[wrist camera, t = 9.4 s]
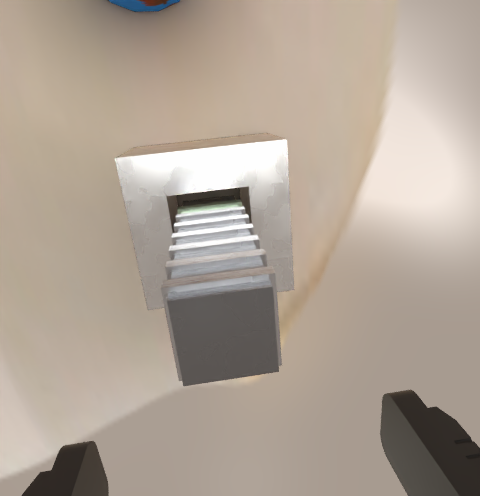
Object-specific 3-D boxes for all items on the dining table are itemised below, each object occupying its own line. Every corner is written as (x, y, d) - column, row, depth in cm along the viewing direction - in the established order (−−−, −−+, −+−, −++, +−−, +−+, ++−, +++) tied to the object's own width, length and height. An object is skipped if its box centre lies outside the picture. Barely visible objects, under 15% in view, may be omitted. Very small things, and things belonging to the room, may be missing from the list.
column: (242, 244, 30) (285, 375, 15) (188, 251, 30) (178, 392, 15) (236, 191, 28) (279, 280, 14) (179, 198, 28) (158, 296, 13)
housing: (275, 259, 37) (294, 296, 30) (159, 274, 37) (149, 316, 29) (266, 132, 33) (287, 139, 25) (134, 147, 32) (114, 158, 25)
